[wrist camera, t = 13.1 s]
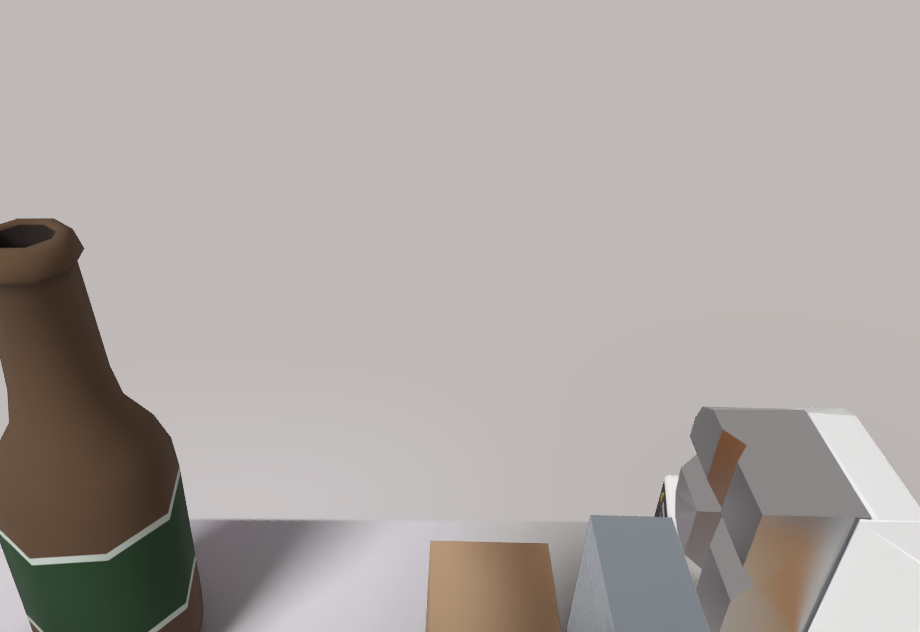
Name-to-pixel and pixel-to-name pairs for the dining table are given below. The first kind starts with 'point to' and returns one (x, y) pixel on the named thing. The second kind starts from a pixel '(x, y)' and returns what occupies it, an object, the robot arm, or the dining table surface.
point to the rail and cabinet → (634, 579)
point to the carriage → (490, 588)
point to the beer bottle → (82, 460)
